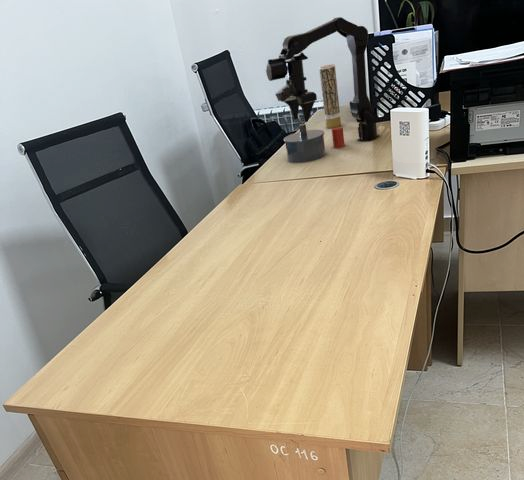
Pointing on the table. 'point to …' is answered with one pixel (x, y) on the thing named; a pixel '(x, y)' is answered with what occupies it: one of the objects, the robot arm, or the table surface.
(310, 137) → the lid
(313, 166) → the table surface
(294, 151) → the pot
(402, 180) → the table surface
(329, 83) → the paper tube
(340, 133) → the cylinder
